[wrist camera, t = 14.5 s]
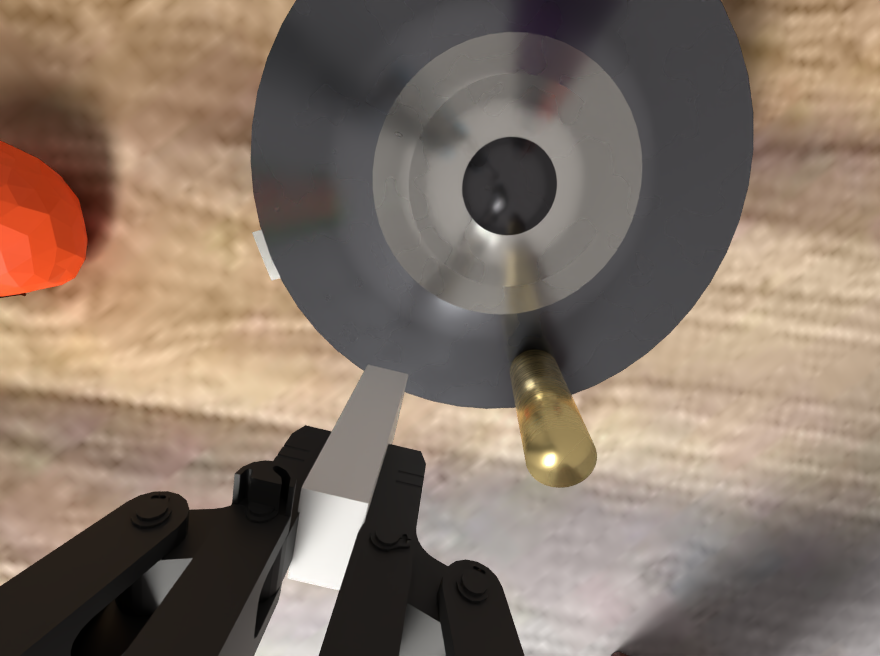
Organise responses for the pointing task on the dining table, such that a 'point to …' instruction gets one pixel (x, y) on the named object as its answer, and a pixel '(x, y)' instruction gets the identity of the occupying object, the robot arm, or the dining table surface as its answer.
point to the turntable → (480, 334)
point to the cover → (507, 173)
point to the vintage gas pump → (619, 654)
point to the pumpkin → (37, 225)
